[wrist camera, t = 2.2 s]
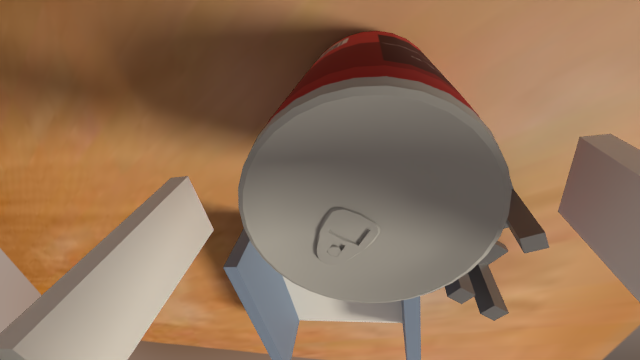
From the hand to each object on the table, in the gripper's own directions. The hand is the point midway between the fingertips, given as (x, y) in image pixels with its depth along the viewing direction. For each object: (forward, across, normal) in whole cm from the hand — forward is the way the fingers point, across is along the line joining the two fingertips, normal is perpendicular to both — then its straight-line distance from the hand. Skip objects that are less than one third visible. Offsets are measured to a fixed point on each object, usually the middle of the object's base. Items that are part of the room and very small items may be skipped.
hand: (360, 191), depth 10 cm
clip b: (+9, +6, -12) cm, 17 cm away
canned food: (+9, 0, +1) cm, 9 cm away
